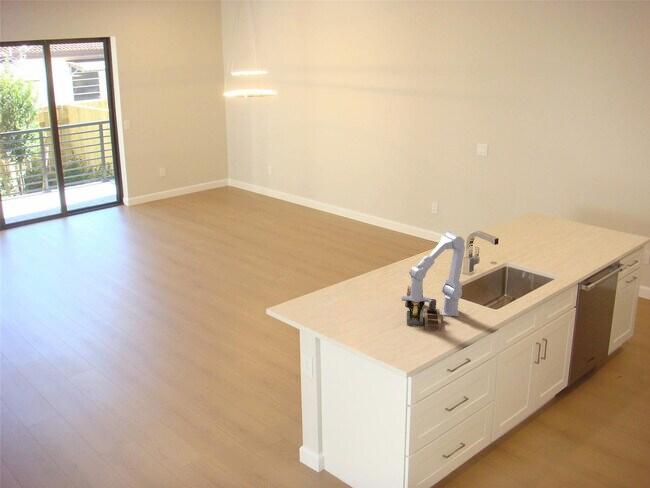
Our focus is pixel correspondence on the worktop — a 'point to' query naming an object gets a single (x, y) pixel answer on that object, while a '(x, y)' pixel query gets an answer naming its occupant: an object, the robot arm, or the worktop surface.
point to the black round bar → (432, 306)
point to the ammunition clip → (410, 294)
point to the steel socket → (415, 319)
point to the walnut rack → (432, 320)
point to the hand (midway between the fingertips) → (414, 314)
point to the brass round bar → (415, 310)
